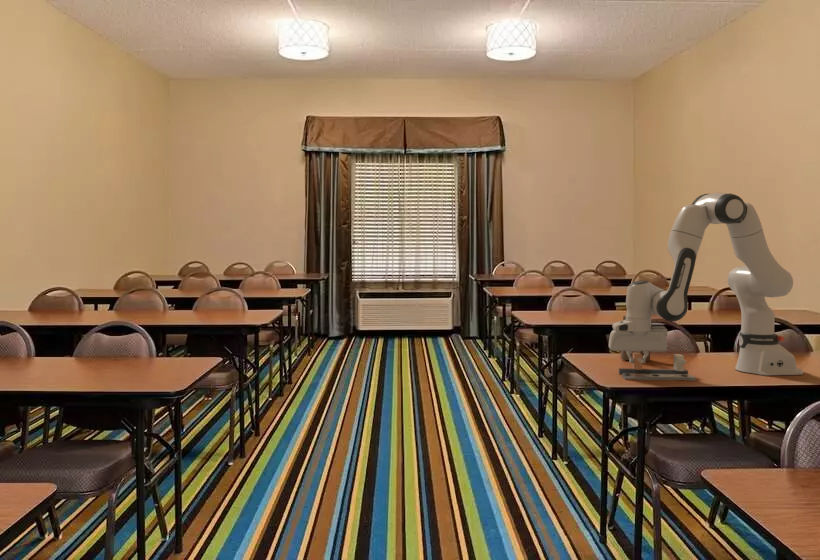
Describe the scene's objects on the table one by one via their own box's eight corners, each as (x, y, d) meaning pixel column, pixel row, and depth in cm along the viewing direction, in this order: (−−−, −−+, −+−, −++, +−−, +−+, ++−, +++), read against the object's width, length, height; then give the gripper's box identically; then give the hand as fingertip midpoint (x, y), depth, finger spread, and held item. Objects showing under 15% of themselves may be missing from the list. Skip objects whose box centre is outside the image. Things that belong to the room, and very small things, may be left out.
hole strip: (691, 377, 250) (691, 374, 250) (695, 380, 245) (695, 377, 245) (621, 376, 252) (621, 372, 252) (624, 379, 247) (624, 375, 247)
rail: (685, 373, 257) (685, 354, 257) (693, 379, 248) (694, 359, 247) (618, 372, 260) (618, 353, 259) (623, 378, 250) (624, 358, 249)
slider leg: (639, 367, 259) (639, 352, 258) (645, 372, 249) (645, 357, 249) (632, 367, 259) (632, 352, 259) (638, 372, 249) (638, 357, 249)
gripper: (665, 324, 258) (664, 361, 259) (608, 323, 260) (607, 360, 261) (669, 327, 251) (668, 365, 252) (611, 326, 253) (610, 364, 254)
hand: (637, 363), depth 257 cm, fingers closed on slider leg, 2 cm apart
